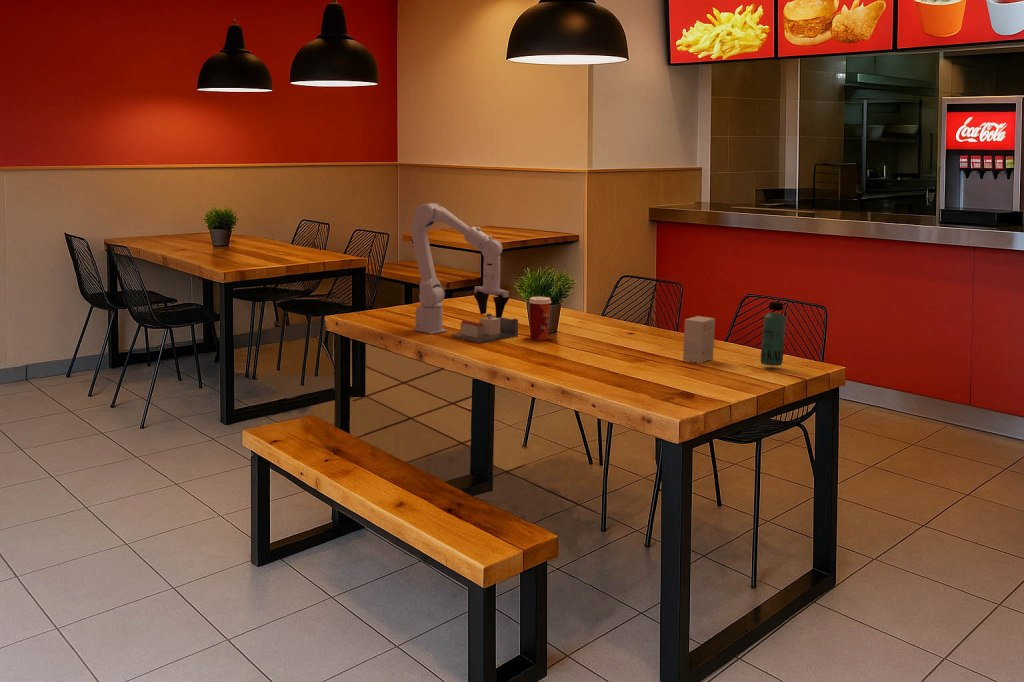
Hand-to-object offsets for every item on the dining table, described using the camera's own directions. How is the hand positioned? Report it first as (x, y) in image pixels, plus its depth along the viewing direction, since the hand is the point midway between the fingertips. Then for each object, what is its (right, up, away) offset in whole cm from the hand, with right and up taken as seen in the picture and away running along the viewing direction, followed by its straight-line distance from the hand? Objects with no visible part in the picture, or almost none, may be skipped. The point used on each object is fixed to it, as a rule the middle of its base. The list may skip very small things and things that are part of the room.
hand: (490, 315), depth 315 cm
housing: (0, -6, +1) cm, 6 cm away
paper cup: (+16, -8, -3) cm, 19 cm away
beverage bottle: (+84, -17, -39) cm, 95 cm away
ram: (-6, -7, -5) cm, 11 cm away
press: (-2, -7, -1) cm, 8 cm away
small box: (+64, -15, -30) cm, 73 cm away
